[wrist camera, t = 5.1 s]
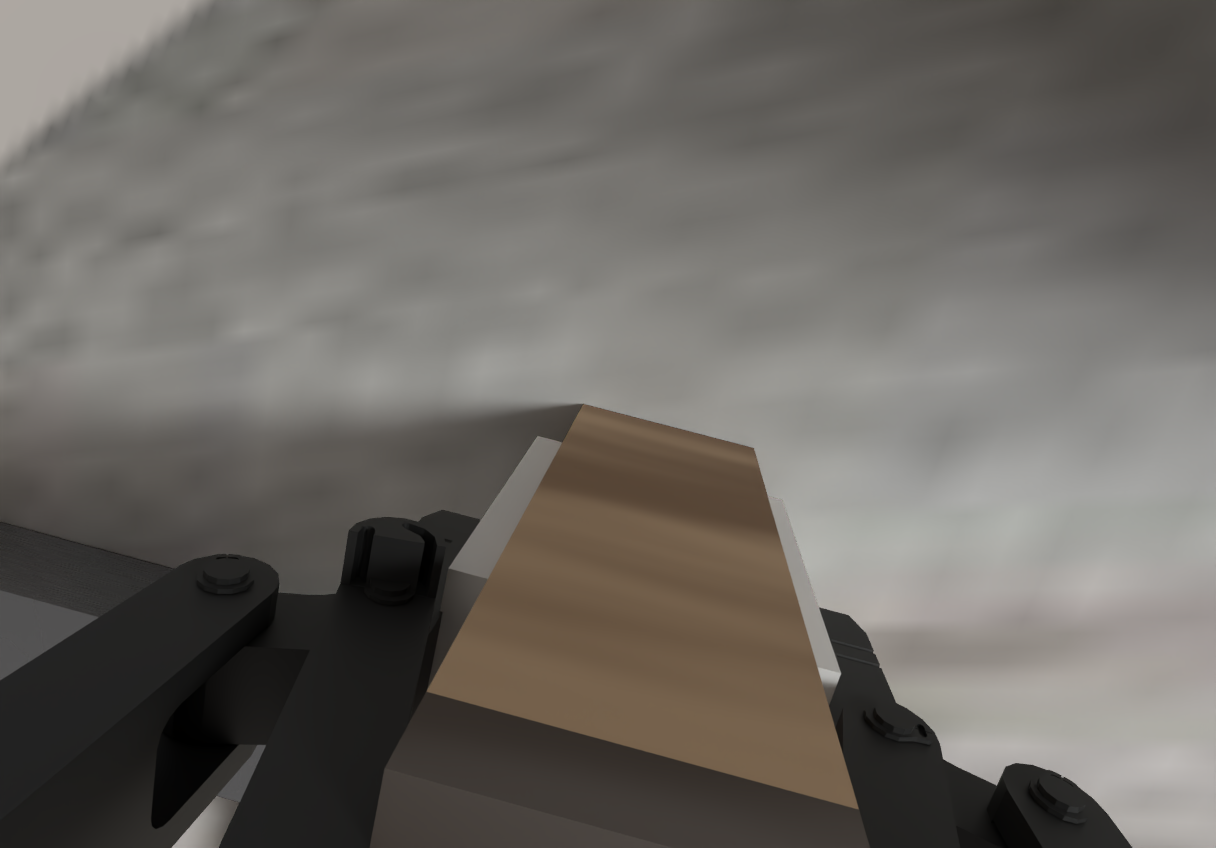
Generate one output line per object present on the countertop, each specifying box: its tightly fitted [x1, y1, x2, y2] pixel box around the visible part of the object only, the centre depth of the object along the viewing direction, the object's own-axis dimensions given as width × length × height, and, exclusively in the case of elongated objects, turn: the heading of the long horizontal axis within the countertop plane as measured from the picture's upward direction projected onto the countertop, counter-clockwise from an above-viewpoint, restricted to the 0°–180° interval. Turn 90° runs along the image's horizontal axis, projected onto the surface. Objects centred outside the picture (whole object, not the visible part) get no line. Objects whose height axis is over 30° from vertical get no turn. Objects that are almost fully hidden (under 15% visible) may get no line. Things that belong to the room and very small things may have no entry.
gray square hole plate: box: [0, 522, 266, 802], centre depth 20 cm, size 14×14×2 cm
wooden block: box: [370, 404, 870, 848], centre depth 12 cm, size 4×4×12 cm
